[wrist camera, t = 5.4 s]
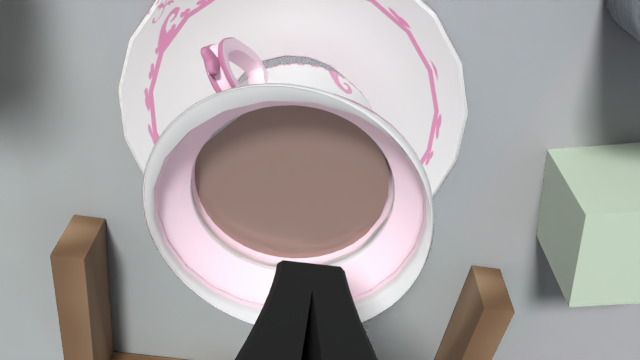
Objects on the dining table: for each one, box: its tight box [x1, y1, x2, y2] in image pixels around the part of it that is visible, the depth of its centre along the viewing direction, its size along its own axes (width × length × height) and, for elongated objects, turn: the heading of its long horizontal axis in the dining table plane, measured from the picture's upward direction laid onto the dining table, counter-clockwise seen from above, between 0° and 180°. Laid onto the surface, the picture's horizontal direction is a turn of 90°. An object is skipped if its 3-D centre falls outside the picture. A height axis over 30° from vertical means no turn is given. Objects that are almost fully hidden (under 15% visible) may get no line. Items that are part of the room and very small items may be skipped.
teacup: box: [118, 0, 468, 324], centre depth 18 cm, size 12×12×6 cm
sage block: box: [536, 142, 640, 307], centre depth 21 cm, size 4×4×4 cm
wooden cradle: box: [50, 215, 515, 360], centre depth 26 cm, size 17×9×2 cm, turn 81°
